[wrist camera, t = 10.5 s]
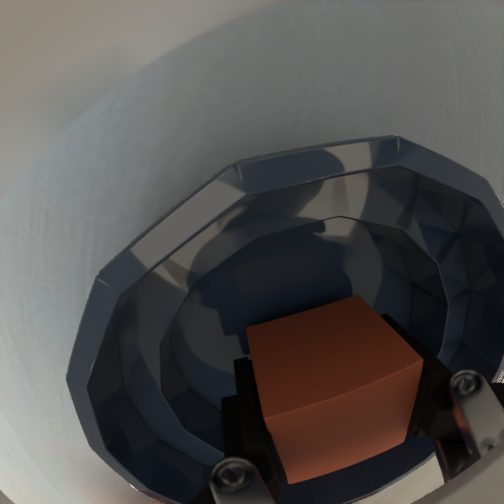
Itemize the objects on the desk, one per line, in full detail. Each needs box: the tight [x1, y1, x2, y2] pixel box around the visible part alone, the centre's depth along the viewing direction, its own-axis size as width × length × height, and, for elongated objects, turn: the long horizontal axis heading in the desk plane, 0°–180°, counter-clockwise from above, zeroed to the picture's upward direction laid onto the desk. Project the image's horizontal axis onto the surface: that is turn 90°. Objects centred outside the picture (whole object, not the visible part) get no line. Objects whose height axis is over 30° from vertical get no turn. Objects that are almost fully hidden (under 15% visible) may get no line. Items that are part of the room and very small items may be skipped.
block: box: [246, 295, 423, 484], centre depth 9 cm, size 4×4×4 cm
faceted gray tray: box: [66, 135, 504, 504], centre depth 9 cm, size 15×15×6 cm
